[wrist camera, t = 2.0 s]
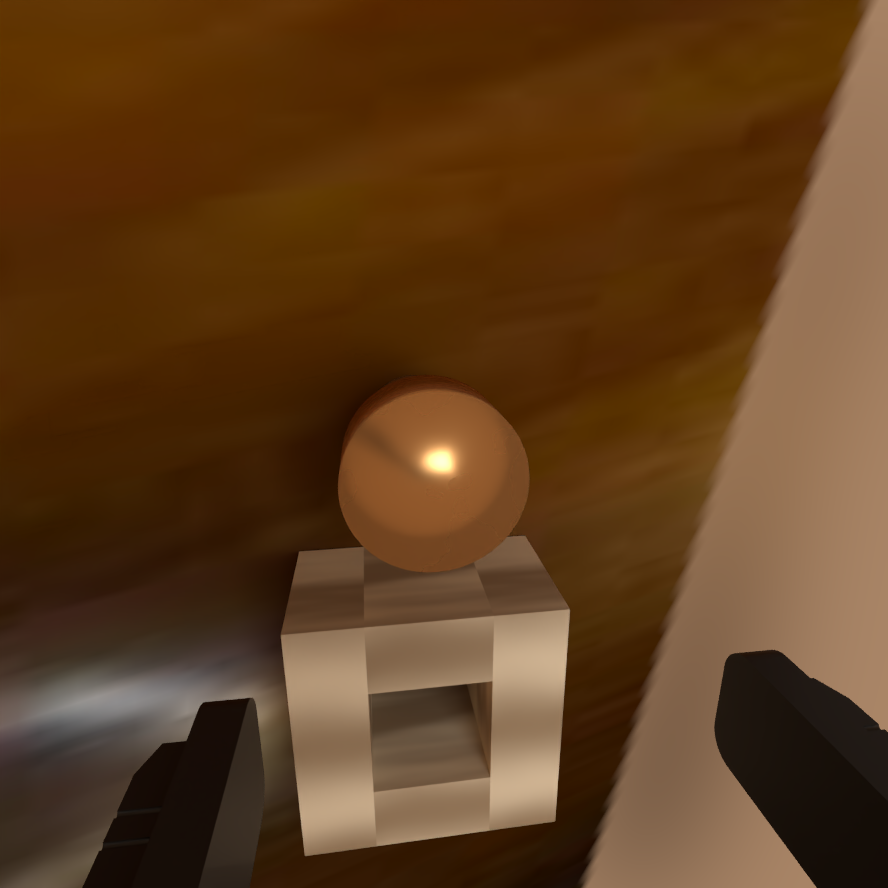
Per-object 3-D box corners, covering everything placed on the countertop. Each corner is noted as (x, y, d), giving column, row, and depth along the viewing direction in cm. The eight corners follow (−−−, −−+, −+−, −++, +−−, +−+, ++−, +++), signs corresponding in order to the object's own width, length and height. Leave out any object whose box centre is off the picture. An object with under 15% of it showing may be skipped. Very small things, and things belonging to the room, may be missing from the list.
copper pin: (342, 351, 26) (331, 395, 17) (476, 348, 27) (533, 388, 18) (350, 479, 28) (344, 579, 19) (474, 472, 29) (525, 565, 20)
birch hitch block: (299, 551, 29) (280, 635, 22) (524, 535, 31) (569, 609, 24) (316, 736, 33) (305, 856, 26) (517, 714, 34) (555, 821, 28)
